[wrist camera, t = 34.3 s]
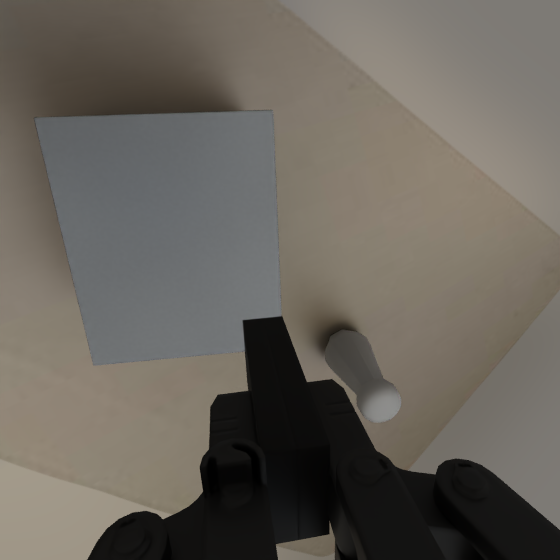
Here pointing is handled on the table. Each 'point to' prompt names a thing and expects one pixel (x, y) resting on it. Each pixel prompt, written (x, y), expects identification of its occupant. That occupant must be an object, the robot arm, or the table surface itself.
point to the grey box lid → (166, 228)
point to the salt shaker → (362, 375)
